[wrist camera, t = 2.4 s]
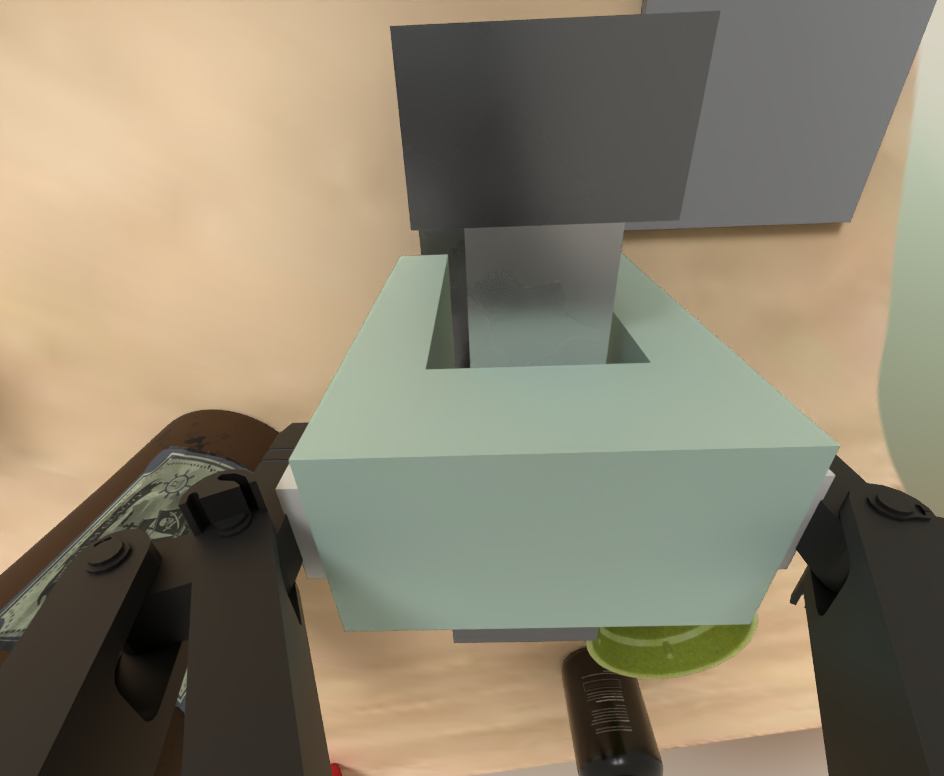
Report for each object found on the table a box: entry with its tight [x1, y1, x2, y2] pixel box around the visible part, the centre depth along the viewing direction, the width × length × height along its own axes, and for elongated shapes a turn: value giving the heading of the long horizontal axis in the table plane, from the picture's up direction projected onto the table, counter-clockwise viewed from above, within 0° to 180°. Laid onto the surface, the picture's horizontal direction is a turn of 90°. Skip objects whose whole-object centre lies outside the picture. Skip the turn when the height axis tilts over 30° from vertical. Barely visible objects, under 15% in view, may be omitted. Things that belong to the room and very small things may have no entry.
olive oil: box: [0, 410, 279, 776], centre depth 19 cm, size 11×11×25 cm
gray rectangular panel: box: [624, 0, 937, 230], centre depth 18 cm, size 11×11×1 cm
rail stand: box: [390, 11, 720, 643], centre depth 17 cm, size 19×8×14 cm, turn 2°
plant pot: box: [586, 612, 758, 679], centre depth 28 cm, size 9×9×9 cm
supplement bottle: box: [561, 648, 663, 776], centre depth 37 cm, size 7×7×12 cm
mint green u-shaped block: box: [288, 253, 840, 631], centre depth 14 cm, size 5×9×13 cm, turn 92°
